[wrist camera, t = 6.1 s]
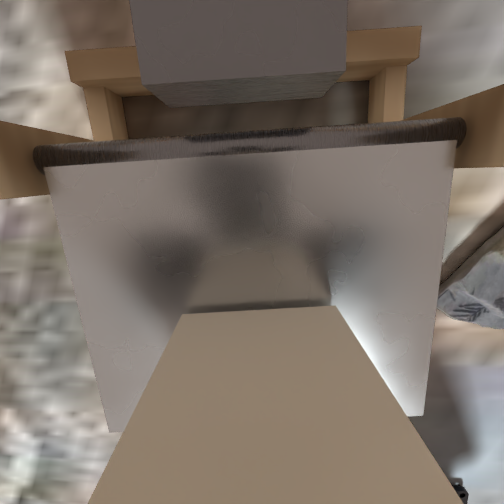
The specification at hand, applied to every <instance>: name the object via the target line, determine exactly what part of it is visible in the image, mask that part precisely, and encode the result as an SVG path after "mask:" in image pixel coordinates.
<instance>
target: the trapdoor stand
mask: <svg viewBox="0 0 504 504" xmlns="http://www.w3.org/2000/svg"><path fill="white" fill-rule="evenodd" d="M421 27H422V26H411V27H397V28H383V29H369V30H355V31H347V45H346V71H345V72H344V73H343V74H342V76H341V77H340V78H339V79H338V80H337V81H336V82H348V81H362V80H370V83H369V106H368V123H379V122H394V121H409V120H424V119H439V118H453V117H461V118H463V119H464V120H465V122H466V127H467V130H466V136H465V139H464V141H463V143H462V144H461V145H460V146H459V147H458V148H457V149H456V153H455V161H454V168H481V167H504V84H503V85H500V86H497V87H494V88H491V89H488V90H486V91H483V92H480V93H477V94H474V95H472V96H469V97H466V98H463V99H460V100H457V101H455V102H452V103H449V104H446V105H443V106H440V107H438V108H435V109H432V110H429V111H426V112H424V113H421V114H418V115H415V116H412V117H409V118H407V119H404V120H403V115H404V101H405V87H406V74H407V65H408V64H410V63H411V62H413V61H414V60H416V59H417V58H418V57H419V51H420V39H421ZM65 56H66V60H67V65H68V70H69V75H70V80H71V82H73V83H75V84H77V85H79V86H81V87H83V88H84V93H85V98H86V104H87V109H88V114H89V119H90V124H91V129H92V134H93V139H94V140H89V139H84V138H80V137H75V136H70V135H65V134H61V133H56V132H51V131H46V130H42V129H37V128H32V127H28V126H23V125H18V124H13V123H9V122H4V121H0V199H9V198H19V197H29V196H39V195H48V194H50V192H49V188H48V184H47V180H46V176H45V175H43V174H42V173H40V172H39V170H38V169H37V167H36V166H35V163H34V160H33V150H34V148H35V147H36V146H38V145H50V144H65V143H80V142H95V141H109V140H124V139H129V138H128V132H127V126H126V121H125V115H124V109H123V103H122V97H130V96H144V95H154V94H152V93H151V92H150V91H149V90H147V89H146V88H145V87H144V86H143V85H142V83H141V76H140V69H139V62H138V56H137V49H136V46H130V47H116V48H102V49H87V50H73V51H65Z"/></svg>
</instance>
